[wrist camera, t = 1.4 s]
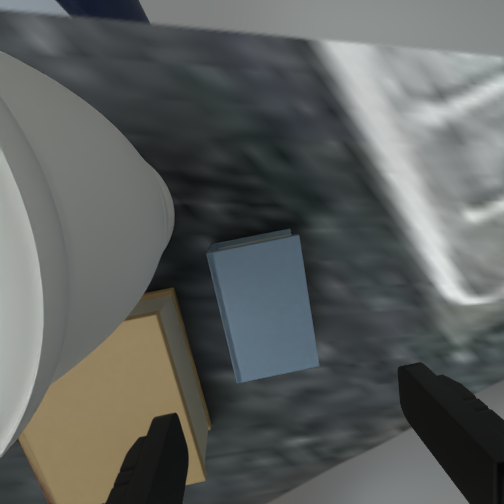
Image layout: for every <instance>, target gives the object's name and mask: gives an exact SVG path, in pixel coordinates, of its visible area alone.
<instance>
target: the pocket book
mask: <svg viewBox="0 0 504 504" xmlns="http://www.w3.org/2000/svg"><path fill="white" fill-rule="evenodd" d="M206 255H207V259H208V263H209V268H210V272H211V276H212V280H213V285H214V289H215V293H216V297H217V301H218V306H219V310H220V314H221V318H222V322H223V327H224V331H225V335H226V339H227V344H228V348H229V352H230V356H231V360H232V365H233V369H234V373H235V377H236V381H237V383H241V382H246V381H251V380H255V379H260V378H265V377H270V376H274V375H279V374H284V373H289V372H293V371H298V370H303V369H308V368H312V367H317V366H319V360H318V354H317V347H316V341H315V334H314V328H313V321H312V315H311V308H310V302H309V295H308V289H307V282H306V276H305V269H304V263H303V256H302V250H301V243H300V237H299V235H298V234H296V235H291V230H290V229H284V230H279V231H274V232H269V233H264V234H259V235H254V236H249V237H244V238H239V239H234V240H229V241H224V242H219V243H214V244H211V245H210V247H209V249H208V251H207V254H206Z"/></svg>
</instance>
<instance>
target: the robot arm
mask: <svg viewBox="0 0 504 504" xmlns="http://www.w3.org/2000/svg"><path fill="white" fill-rule="evenodd" d="M398 383H399V395H400V404H401V408H402V411H403V413H404V415H405V417H406V419H407V421H408V422H409V424H410V425H411V427H412V428H413V429H414V430H415V432H416V433H417V435H418V436H419V437H420V439H421V440H422V441H423V442H424V444H425V445H426V446H427V448H428V449H429V450H430V452H431V453H432V454H433V456H434V457H435V458H436V460H437V461H438V462H439V464H440V465H441V466H442V468H443V469H444V470H445V472H446V473H447V474H448V476H449V477H450V478H451V480H452V481H453V482H454V484H455V485H456V486H457V488H458V489H459V490H460V491H461V493H462V494H463V495H464V497H465V498H466V499H467V501H468V502H469V503H470V504H504V420H503V419H502V418H501V417H500V416H498V415H497V414H496V413H495V412H494V411H493V410H490V409H489V408H488V406H487V405H485V404H484V403H483V402H482V401H481V400H479V399H476V397H475V395H474V394H472V393H471V392H470V391H469V390H468V389H466V388H465V387H464V386H463V385H462V384H460V383H458V382H456V381H454V380H453V379H451V378H449V377H447V376H445V375H438V376H437V375H436V374H434V373H433V372H432V371H431V370H430V369H429V368H428V367H427V366H426V365H424V364H423V363H421V362H419V363H414V364H409V365H404V366H400V367H398ZM188 467H189V452H188V446H187V443H186V439H185V436H184V433H183V429H182V426H181V423H180V419H179V416H178V414H177V413H170V414H165V415H161V416H156V417H154V418H153V420H152V422H151V425H150V427H149V430H148V433H147V435H146V436H142V437H139V438H138V439H137V440H136V442H135V443H134V444H133V445H132V447H131V448H130V449H129V451H128V452H127V454H126V456H125V458H124V461H123V463H122V465H121V468H120V473H118V475H117V477H116V480H115V482H114V484H113V485H114V486H113V488H112V489H111V491H110V494H109V496H108V499H107V501H106V503H105V504H182V502H183V496H184V491H185V485H186V479H187V473H188Z"/></svg>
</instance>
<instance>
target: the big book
mask: <svg viewBox="0 0 504 504" xmlns="http://www.w3.org/2000/svg"><path fill="white" fill-rule="evenodd" d="M170 413H177V414H178V416H179V419H180V423H181V426H182V429H183V433H184V436H185V439H186V443H187V446H188V452H189V467H188V473H187V479H186V485H188V484H193V483H198V482H202V481H205V480H206V469H205V466H204V463H205V454H206V445H207V436H208V430H210V429H211V421H210V418H209V414H208V410H207V407H206V403H205V399H204V396H203V392H202V388H201V385H200V381H199V377H198V374H197V370H196V366H195V363H194V359H193V355H192V352H191V348H190V344H189V341H188V337H187V333H186V330H185V326H184V322H183V319H182V315H181V311H180V308H179V304H178V300H177V297H176V293H175V289H174V287H172V288H167V289H162V290H157V291H152V292H147V293H144V294H143V296H142V297H141V299H140V300H139V302H138V303H137V304H136V306H135V307H134V309H133V310H132V311H131V312H130V314H129V315H128V316H127V317H126V319H125V320H124V321H123V322H122V323H121V324H120V325H119V326H118V328H117V329H116V330H115V331H114V332H113V333H112V334H111V335H110V336H109V337H108V338H107V339H106V340H105V341H104V342H103V343H101V344H100V345H99V346H98V347H97V348H96V349H95V350H94V351H93V352H91V353H90V354H89V355H88V356H87V357H86V358H84V359H83V360H82V361H81V362H80V363H78V364H77V365H76V366H75V367H73V368H72V369H71V370H70V371H68V372H67V373H66V374H64V375H63V376H62V377H60V378H59V379H58V380H56V381H55V382H54V383H52V384H51V385H49V388H48V390H47V392H46V394H45V396H44V398H43V400H42V401H41V403H40V405H39V407H38V408H37V410H36V412H35V413H34V415H33V417H32V418H31V420H30V421H29V423H28V424H27V426H26V427H25V429H24V430H23V431H22V433H21V434H20V436H19V437H18V440H19V442H20V445H21V447H22V449H23V451H24V453H25V455H26V457H27V459H28V461H29V463H30V466H31V468H32V470H33V472H34V474H35V476H36V478H37V480H38V482H39V484H40V486H41V489H42V491H43V493H44V495H45V497H46V499H47V501H48V503H49V504H101V503H105V502H106V501H107V499H108V496H109V494H110V491H111V489H112V488H113V486H114V485H113V484H114V482H115V480H116V477H117V475H118V473H120V468H121V465H122V463H123V461H124V458H125V456H126V454H127V452H128V451H129V449H130V448H131V447H132V445H133V444H134V443H135V442H136V440H137V439H138V438H139V437H142V436H146V435H147V433H148V430H149V427H150V425H151V422H152V420H153V418H154V417H156V416H161V415H165V414H170Z"/></svg>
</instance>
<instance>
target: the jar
mask: <svg viewBox="0 0 504 504" xmlns="http://www.w3.org/2000/svg"><path fill="white" fill-rule="evenodd" d="M174 219H175V213H174V205H173V201H172V197H171V194H170V192H169V189H168V187H167V185H166V184H165V182H164V180H163V179H162V178H161V176H160V175H159V174H158V173H157V171H156V170H155V169H154V168H153V167H152V166H151V165H149V164H148V163H147V162H146V161H145V160H144V159H143V158H142V157H141V155H140V154H139V153H138V152H137V150H136V149H135V148H134V146H133V145H132V144H131V143H130V142H129V141H128V139H127V138H126V137H125V136H124V135H123V134H122V133H121V132H120V131H119V130H118V129H117V128H116V127H115V126H114V125H113V124H112V123H111V122H110V121H109V120H108V119H106V118H105V117H104V116H103V115H102V114H101V113H99V112H98V111H97V110H96V109H95V108H93V107H92V106H91V105H89V104H88V103H87V102H85V101H84V100H83V99H81V98H80V97H79V96H77V95H76V94H74V93H73V92H71V91H70V90H69V89H67V88H66V87H64V86H62V85H61V84H59V83H58V82H56V81H55V80H53V79H51V78H50V77H48V76H46V75H45V74H43V73H41V72H39V71H38V70H36V69H34V68H32V67H30V66H29V65H27V64H25V63H23V62H21V61H19V60H17V59H16V58H14V57H12V56H10V55H8V54H6V53H4V52H2V51H0V458H1V457H2V456H3V454H4V453H5V452H6V451H7V450H8V449H9V448H10V447H11V446H12V444H13V443H14V442H15V441H16V439H17V438H18V437H19V436H20V434H21V433H22V431H23V430H24V429H25V427H26V426H27V424H28V423H29V421H30V420H31V418H32V417H33V415H34V413H35V412H36V410H37V408H38V407H39V405H40V403H41V401H42V400H43V398H44V396H45V394H46V392H47V390H48V388H49V385H51V384H52V383H54V382H55V381H56V380H58V379H59V378H60V377H62V376H63V375H64V374H66V373H67V372H68V371H70V370H71V369H72V368H73V367H75V366H76V365H77V364H78V363H80V362H81V361H82V360H83V359H84V358H86V357H87V356H88V355H89V354H90V353H91V352H93V351H94V350H95V349H96V348H97V347H98V346H99V345H100V344H101V343H103V342H104V341H105V340H106V339H107V338H108V337H109V336H110V335H111V334H112V333H113V332H114V331H115V330H116V329H117V328H118V326H119V325H120V324H121V323H122V322H123V321H124V320H125V319H126V317H127V316H128V315H129V314H130V312H131V311H132V310H133V309H134V307H135V306H136V304H137V303H138V302H139V300H140V299H141V297H142V296H143V294H144V292H145V291H146V289H147V287H148V285H149V284H150V282H151V280H152V278H153V275H154V273H155V271H156V268H157V266H158V263H159V260H160V258H161V255H162V253H163V251H164V250H165V248H166V247H167V245H168V243H169V241H170V238H171V236H172V232H173V228H174Z"/></svg>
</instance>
